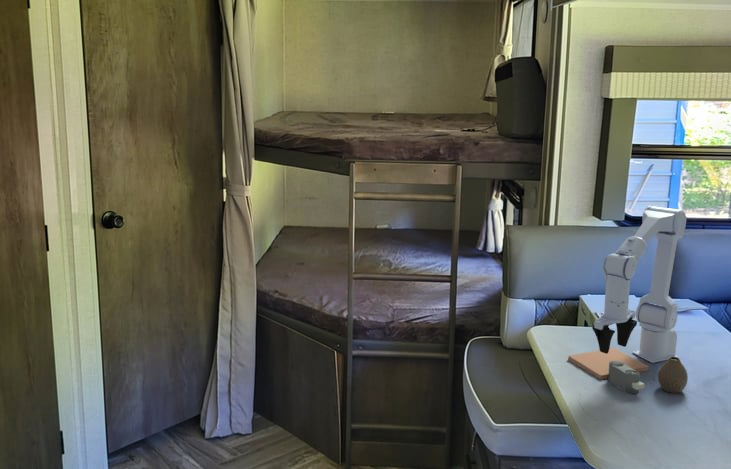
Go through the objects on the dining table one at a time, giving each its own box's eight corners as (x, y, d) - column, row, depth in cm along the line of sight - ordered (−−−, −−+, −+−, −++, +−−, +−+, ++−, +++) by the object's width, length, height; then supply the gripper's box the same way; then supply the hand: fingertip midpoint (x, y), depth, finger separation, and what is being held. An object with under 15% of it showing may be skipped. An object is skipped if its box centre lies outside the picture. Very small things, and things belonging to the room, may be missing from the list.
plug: (615, 377, 178) (617, 360, 176) (645, 394, 168) (646, 376, 166) (604, 379, 176) (606, 362, 175) (633, 397, 166) (635, 378, 165)
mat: (613, 351, 194) (613, 347, 194) (648, 370, 181) (648, 366, 181) (568, 359, 189) (568, 355, 189) (600, 379, 176) (601, 375, 176)
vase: (674, 398, 166) (677, 366, 164) (651, 387, 172) (654, 356, 170) (692, 392, 169) (695, 360, 167) (669, 381, 175) (672, 350, 173)
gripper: (620, 290, 177) (616, 337, 180) (585, 301, 169) (582, 350, 172) (644, 297, 171) (639, 346, 174) (609, 308, 163) (605, 359, 166)
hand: (613, 348), depth 172 cm, fingers open, 7 cm apart
